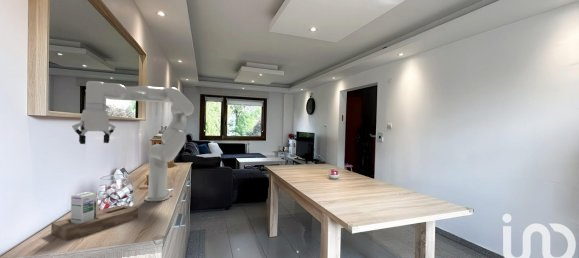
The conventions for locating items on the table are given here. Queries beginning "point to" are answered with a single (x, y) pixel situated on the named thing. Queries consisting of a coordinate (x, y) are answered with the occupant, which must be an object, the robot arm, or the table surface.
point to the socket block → (94, 222)
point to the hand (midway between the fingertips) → (94, 143)
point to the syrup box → (83, 207)
